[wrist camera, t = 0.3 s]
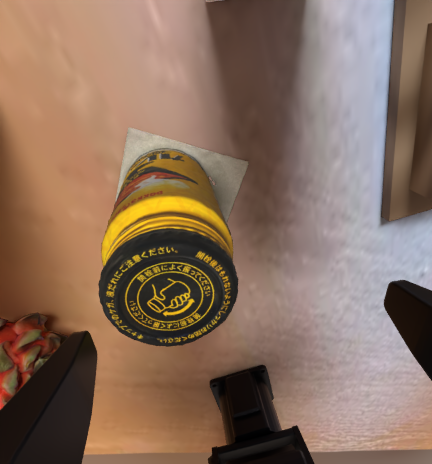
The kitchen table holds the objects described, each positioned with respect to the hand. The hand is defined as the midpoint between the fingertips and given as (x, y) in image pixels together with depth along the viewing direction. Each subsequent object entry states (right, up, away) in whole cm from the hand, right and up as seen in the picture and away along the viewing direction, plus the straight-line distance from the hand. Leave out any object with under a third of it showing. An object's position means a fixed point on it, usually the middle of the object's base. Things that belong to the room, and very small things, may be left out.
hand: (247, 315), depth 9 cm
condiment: (-4, +5, +13) cm, 15 cm away
